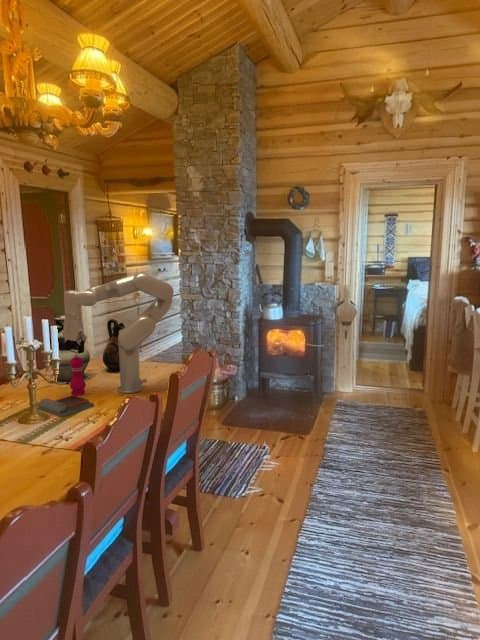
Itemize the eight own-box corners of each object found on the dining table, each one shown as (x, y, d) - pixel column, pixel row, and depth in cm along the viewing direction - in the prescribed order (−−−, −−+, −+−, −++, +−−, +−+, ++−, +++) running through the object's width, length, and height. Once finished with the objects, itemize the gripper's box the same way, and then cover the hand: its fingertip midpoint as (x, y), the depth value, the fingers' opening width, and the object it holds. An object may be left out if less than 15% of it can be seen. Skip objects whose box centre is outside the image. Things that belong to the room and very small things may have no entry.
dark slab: (69, 399, 213) (69, 389, 212) (93, 406, 203) (93, 396, 202) (38, 408, 200) (37, 399, 200) (62, 417, 190) (61, 407, 189)
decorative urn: (67, 387, 233) (63, 321, 226) (41, 380, 244) (37, 316, 237) (99, 377, 250) (96, 315, 244) (74, 370, 261) (70, 311, 255)
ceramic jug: (135, 369, 266) (134, 319, 262) (116, 375, 253) (113, 322, 249) (115, 365, 275) (113, 316, 270) (95, 370, 262) (92, 320, 258)
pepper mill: (81, 396, 216) (78, 356, 213) (67, 395, 218) (64, 355, 215) (89, 392, 223) (86, 352, 220) (75, 391, 225) (73, 352, 222)
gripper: (55, 315, 216) (57, 350, 219) (77, 319, 207) (79, 355, 209) (69, 313, 222) (70, 347, 225) (91, 317, 213) (92, 352, 215)
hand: (74, 351), depth 217 cm, fingers open, 9 cm apart
